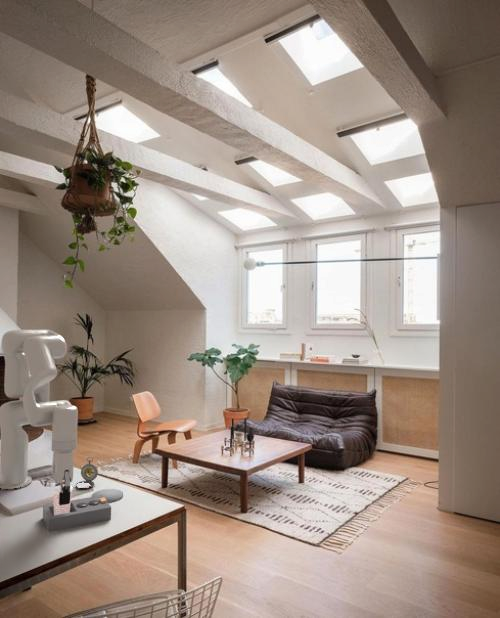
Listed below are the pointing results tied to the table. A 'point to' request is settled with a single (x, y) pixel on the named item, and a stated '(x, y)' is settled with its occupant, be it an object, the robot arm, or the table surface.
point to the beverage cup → (58, 508)
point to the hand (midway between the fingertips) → (62, 499)
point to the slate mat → (109, 494)
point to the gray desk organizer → (78, 513)
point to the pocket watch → (89, 473)
